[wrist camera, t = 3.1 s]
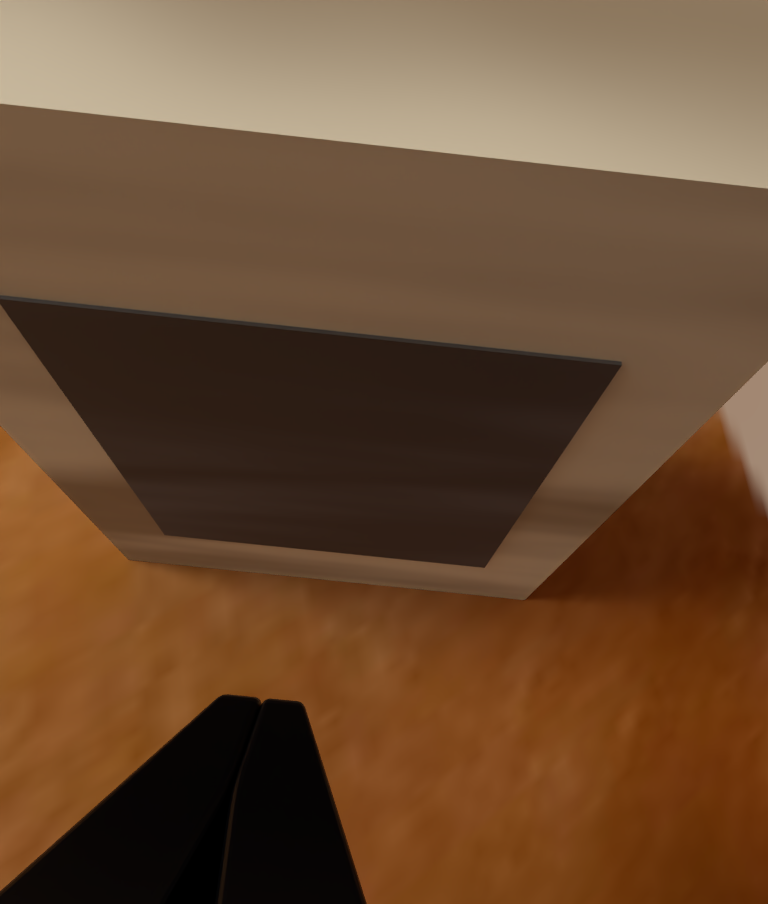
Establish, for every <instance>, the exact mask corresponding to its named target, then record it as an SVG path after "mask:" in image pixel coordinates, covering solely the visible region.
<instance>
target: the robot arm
mask: <svg viewBox="0 0 768 904" xmlns="http://www.w3.org/2000/svg"><path fill="white" fill-rule="evenodd" d="M0 904H367V903H366V900H365V897H364V894H363V891H362V887H361V884H360V881H359V878H358V875H357V871H356V868H355V865H354V862H353V859H352V855H351V852H350V849H349V846H348V843H347V840H346V836H345V833H344V830H343V827H342V824H341V820H340V817H339V814H338V811H337V808H336V804H335V801H334V798H333V795H332V792H331V789H330V785H329V782H328V779H327V776H326V773H325V769H324V766H323V763H322V760H321V757H320V753H319V750H318V747H317V744H316V741H315V738H314V734H313V731H312V728H311V725H310V722H309V718H308V715H307V712H306V709H305V707H304V705H303V704H302V703H301V702H298V701H289V700H279V699H267V700H265V701H264V702H263V703H262V704H261V701H260V700H259V699H258V698H256V697H248V696H238V695H228V694H227V695H222V696H220V697H218V698H217V699H216V700H214V701H213V702H212V703H211V704H210V705H209V706H208V707H207V708H205V709H204V710H203V711H202V712H201V713H200V714H199V715H198V716H196V717H195V718H194V719H193V720H192V721H191V722H190V723H189V724H187V725H186V726H185V727H184V728H183V729H182V730H181V731H180V732H178V733H177V734H176V735H175V736H174V737H173V738H172V739H171V740H170V741H168V742H167V743H166V744H165V745H164V746H163V747H162V748H161V749H159V750H158V751H157V752H156V753H155V754H154V755H153V756H152V757H150V758H149V759H148V760H147V761H146V762H145V763H144V764H143V765H141V766H140V767H139V768H138V769H137V770H136V771H135V772H134V773H132V774H131V775H130V776H129V777H128V778H127V779H126V780H125V781H123V782H122V783H121V784H120V785H119V786H118V787H117V788H116V789H115V790H113V791H112V792H111V793H110V794H109V795H108V796H107V797H106V798H104V799H103V800H102V801H101V802H100V803H99V804H98V805H97V806H95V807H94V808H93V809H92V810H91V811H90V812H89V813H88V814H86V815H85V816H84V817H83V818H82V819H81V820H80V821H79V822H77V823H76V824H75V825H74V826H73V827H72V828H71V829H70V830H68V831H67V832H66V833H65V834H64V835H63V836H62V837H61V838H60V839H58V840H57V841H56V842H55V843H54V844H53V845H52V846H51V847H49V848H48V849H47V850H46V851H45V852H44V853H43V854H42V855H40V856H39V857H38V858H37V859H36V860H35V861H34V862H33V863H31V864H30V865H29V866H28V867H27V868H26V869H25V870H24V871H22V872H21V873H20V874H19V875H18V876H17V877H16V878H15V879H13V880H12V881H11V882H10V883H9V884H8V885H7V886H6V887H5V888H3V889H2V890H1V891H0Z"/></svg>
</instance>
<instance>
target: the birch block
mask: <svg viewBox="0 0 768 904" xmlns="http://www.w3.org/2000/svg"><path fill="white" fill-rule="evenodd" d="M767 361H768V0H0V426H1V427H2V428H3V429H4V430H5V431H6V432H7V433H8V434H9V435H10V436H11V437H12V438H13V439H14V440H15V441H16V442H17V444H18V445H19V446H20V447H21V448H22V449H23V450H24V451H25V452H26V453H27V454H28V455H29V456H30V457H31V458H32V459H33V460H34V461H35V462H36V463H37V464H38V466H39V467H40V468H41V469H42V470H43V471H44V472H45V473H46V474H47V475H48V476H49V477H50V478H51V479H52V480H53V481H54V482H55V483H56V484H57V485H58V486H59V487H60V489H61V490H62V491H63V492H64V493H65V494H66V495H67V496H68V497H69V498H70V499H71V500H72V501H73V502H74V503H75V504H76V505H77V506H78V507H79V508H80V509H81V511H82V512H83V513H84V514H85V515H86V516H87V517H88V518H89V519H90V520H91V521H92V522H93V523H94V524H95V525H96V526H97V527H98V528H99V529H100V530H101V531H102V533H103V534H104V535H105V536H106V537H107V538H108V539H109V540H110V541H111V542H112V543H113V544H114V545H115V546H116V547H117V548H118V549H119V550H120V551H121V552H122V553H123V554H124V556H125V557H126V558H127V559H128V560H135V561H145V562H155V563H165V564H175V565H185V566H194V567H204V568H214V569H224V570H234V571H244V572H254V573H263V574H273V575H283V576H293V577H303V578H313V579H323V580H332V581H342V582H352V583H362V584H372V585H382V586H392V587H401V588H411V589H421V590H431V591H441V592H451V593H461V594H470V595H480V596H490V597H500V598H510V599H520V600H525V599H526V598H527V597H528V596H529V595H530V594H531V593H532V592H533V591H534V590H535V589H536V588H537V587H538V586H539V585H541V584H542V583H543V582H544V581H545V580H546V579H547V578H548V577H549V576H550V575H551V574H552V573H553V572H554V571H555V570H556V569H557V568H558V567H559V566H560V565H561V564H562V563H563V562H564V561H565V560H566V559H567V558H568V557H569V556H570V555H571V554H572V553H573V552H574V551H575V550H576V549H577V548H578V547H579V546H580V545H581V544H582V543H583V542H584V541H585V540H586V539H587V538H588V537H589V536H590V535H591V534H592V533H593V532H594V531H596V530H597V529H598V528H599V527H600V526H601V525H602V524H603V523H604V522H605V521H606V520H607V519H608V518H609V517H610V516H611V515H612V514H613V513H614V512H615V511H616V510H617V509H618V508H619V507H620V506H621V505H622V504H623V503H624V502H625V501H626V500H627V499H628V498H629V497H630V496H631V495H632V494H633V493H634V492H635V491H636V490H637V489H638V488H639V487H640V486H641V485H642V484H643V483H644V482H645V481H646V480H647V479H648V478H650V477H651V476H652V475H653V474H654V473H655V472H656V471H657V470H658V469H659V468H660V467H661V466H662V465H663V464H664V463H665V462H666V461H667V460H668V459H669V458H670V457H671V456H672V455H673V454H674V453H675V452H676V451H677V450H678V449H679V448H680V447H681V446H682V445H683V444H684V443H685V442H686V441H687V440H688V439H689V438H690V437H691V436H692V435H693V434H694V433H695V432H696V431H697V430H698V429H699V428H700V427H701V426H702V425H703V424H705V423H706V422H707V421H708V420H709V419H710V418H711V417H712V416H713V415H714V414H715V413H716V412H717V411H718V410H719V409H720V408H721V407H722V406H723V405H724V404H725V403H726V402H727V401H728V400H729V399H730V398H731V397H732V396H733V395H734V394H735V393H736V392H737V391H738V390H739V389H740V388H741V387H742V386H743V385H744V384H745V383H746V382H747V381H748V380H749V379H750V378H751V377H752V376H753V375H754V374H755V373H756V372H757V371H759V369H760V368H762V366H763V365H765V364H766V363H767Z"/></svg>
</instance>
